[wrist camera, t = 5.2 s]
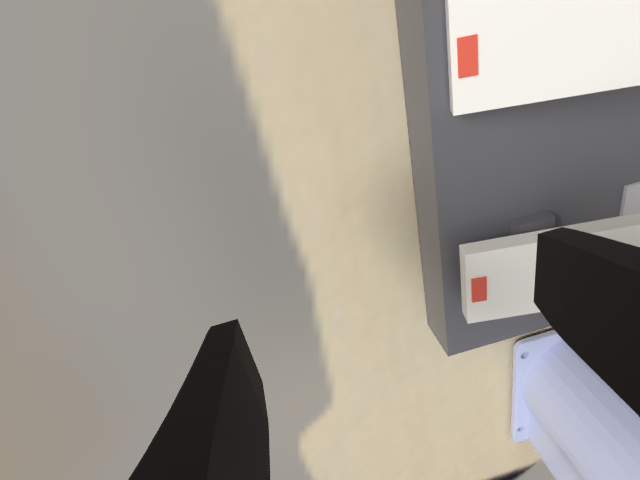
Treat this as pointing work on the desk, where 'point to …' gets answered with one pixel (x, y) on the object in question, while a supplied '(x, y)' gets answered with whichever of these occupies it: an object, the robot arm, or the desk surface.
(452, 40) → the rocker middle
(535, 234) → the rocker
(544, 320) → the rocker switch panel
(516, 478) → the desk surface
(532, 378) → the robot arm
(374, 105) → the desk surface
